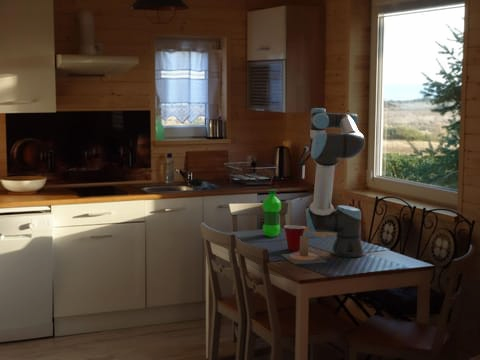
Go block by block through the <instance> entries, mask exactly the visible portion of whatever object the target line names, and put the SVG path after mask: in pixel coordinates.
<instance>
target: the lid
mask: <svg viewBox="0 0 480 360" xmlns="http://www.w3.org/2000/svg"><path fill="white" fill-rule="evenodd" d="M309 238H310V236H308V235H303V236H300V250H299V252H292V253H289V254H290V258H291V259H293V260H297V261H314V260H317V259H318V254H316V253H314V252H309V243H310V241H309V240H310V239H309Z"/></svg>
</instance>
